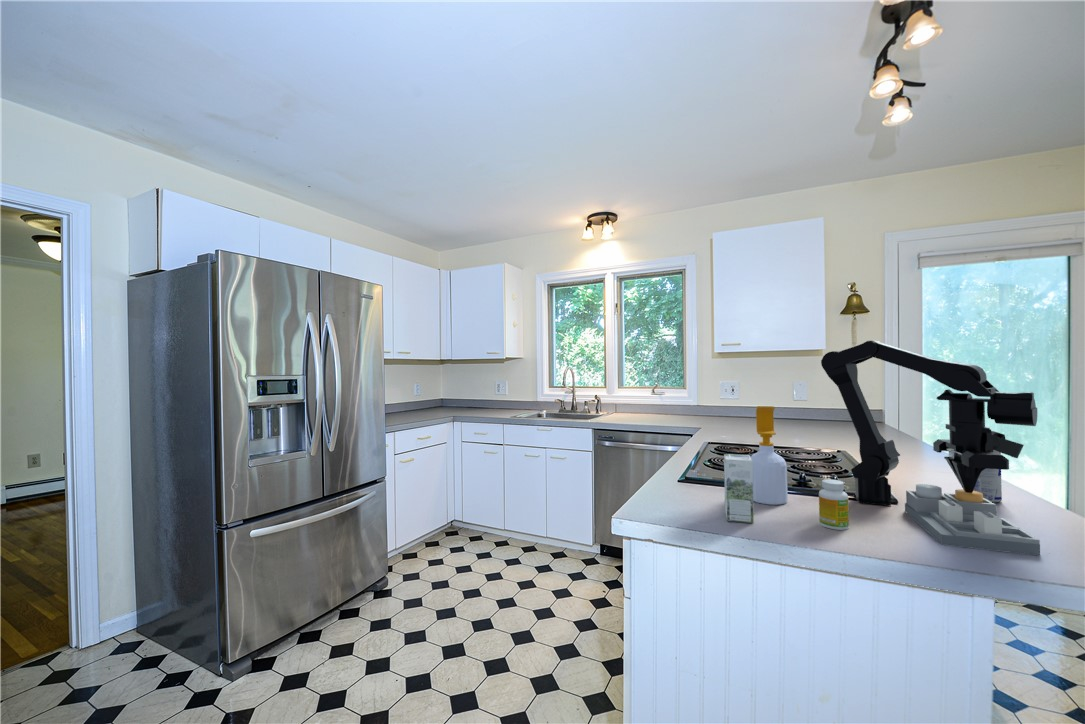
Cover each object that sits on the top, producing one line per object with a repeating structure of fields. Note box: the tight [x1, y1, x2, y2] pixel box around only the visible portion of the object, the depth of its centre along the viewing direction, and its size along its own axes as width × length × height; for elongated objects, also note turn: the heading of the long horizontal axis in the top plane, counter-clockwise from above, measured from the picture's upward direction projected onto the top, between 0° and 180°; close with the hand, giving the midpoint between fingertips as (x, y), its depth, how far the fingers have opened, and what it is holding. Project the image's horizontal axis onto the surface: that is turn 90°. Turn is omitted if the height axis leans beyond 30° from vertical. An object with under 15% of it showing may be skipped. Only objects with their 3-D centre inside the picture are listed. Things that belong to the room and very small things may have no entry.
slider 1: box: [939, 499, 963, 522], centre depth 92 cm, size 2×4×4 cm, turn 157°
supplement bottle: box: [818, 478, 850, 531], centre depth 97 cm, size 5×5×10 cm
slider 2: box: [974, 510, 1002, 535], centre depth 86 cm, size 2×4×4 cm, turn 157°
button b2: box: [954, 488, 983, 503], centre depth 97 cm, size 4×4×3 cm
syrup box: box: [723, 453, 755, 524], centre depth 103 cm, size 6×6×14 cm
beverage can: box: [973, 450, 1003, 504], centre depth 111 cm, size 6×6×15 cm
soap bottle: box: [750, 405, 789, 506], centre depth 115 cm, size 9×9×25 cm
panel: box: [904, 489, 1041, 556], centre depth 92 cm, size 14×20×5 cm
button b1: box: [915, 483, 943, 500], centre depth 100 cm, size 4×4×3 cm
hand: (968, 492), depth 97 cm, fingers closed, pressing on button b2
